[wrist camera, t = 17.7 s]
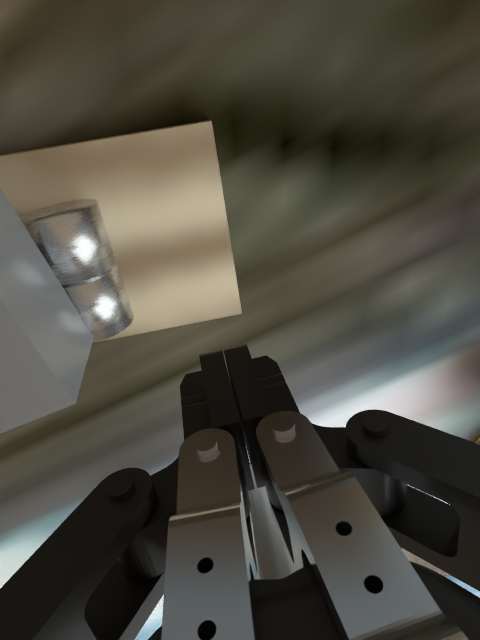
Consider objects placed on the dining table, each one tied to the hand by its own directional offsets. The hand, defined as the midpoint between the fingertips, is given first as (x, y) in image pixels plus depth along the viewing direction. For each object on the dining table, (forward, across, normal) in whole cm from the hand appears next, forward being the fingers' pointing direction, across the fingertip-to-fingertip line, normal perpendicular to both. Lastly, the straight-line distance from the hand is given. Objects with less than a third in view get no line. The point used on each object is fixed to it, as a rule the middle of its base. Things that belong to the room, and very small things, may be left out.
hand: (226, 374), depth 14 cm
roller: (+11, +6, 0) cm, 13 cm away
